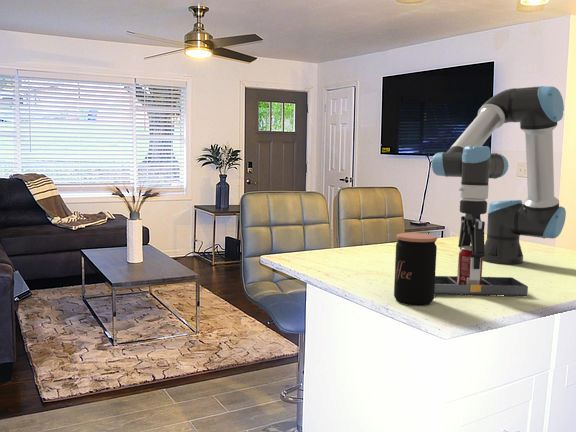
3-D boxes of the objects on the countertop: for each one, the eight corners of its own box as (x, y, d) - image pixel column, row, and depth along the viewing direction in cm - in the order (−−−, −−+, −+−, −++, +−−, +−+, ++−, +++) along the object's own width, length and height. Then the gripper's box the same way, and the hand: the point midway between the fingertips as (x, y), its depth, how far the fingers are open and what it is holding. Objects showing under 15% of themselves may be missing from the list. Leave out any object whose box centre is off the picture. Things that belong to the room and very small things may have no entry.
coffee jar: (389, 296, 156) (391, 232, 154) (426, 296, 157) (429, 233, 155) (400, 306, 145) (402, 238, 143) (439, 306, 146) (443, 238, 144)
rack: (511, 287, 169) (512, 276, 169) (527, 297, 158) (528, 286, 157) (413, 285, 170) (414, 274, 169) (422, 294, 158) (423, 283, 157)
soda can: (482, 291, 160) (485, 250, 158) (457, 289, 161) (460, 249, 159) (479, 285, 166) (481, 245, 164) (455, 283, 168) (458, 244, 166)
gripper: (450, 196, 171) (446, 268, 174) (472, 202, 150) (468, 284, 153) (474, 196, 171) (470, 268, 174) (500, 203, 150) (495, 285, 153)
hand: (469, 276), depth 163 cm, fingers open, 9 cm apart
